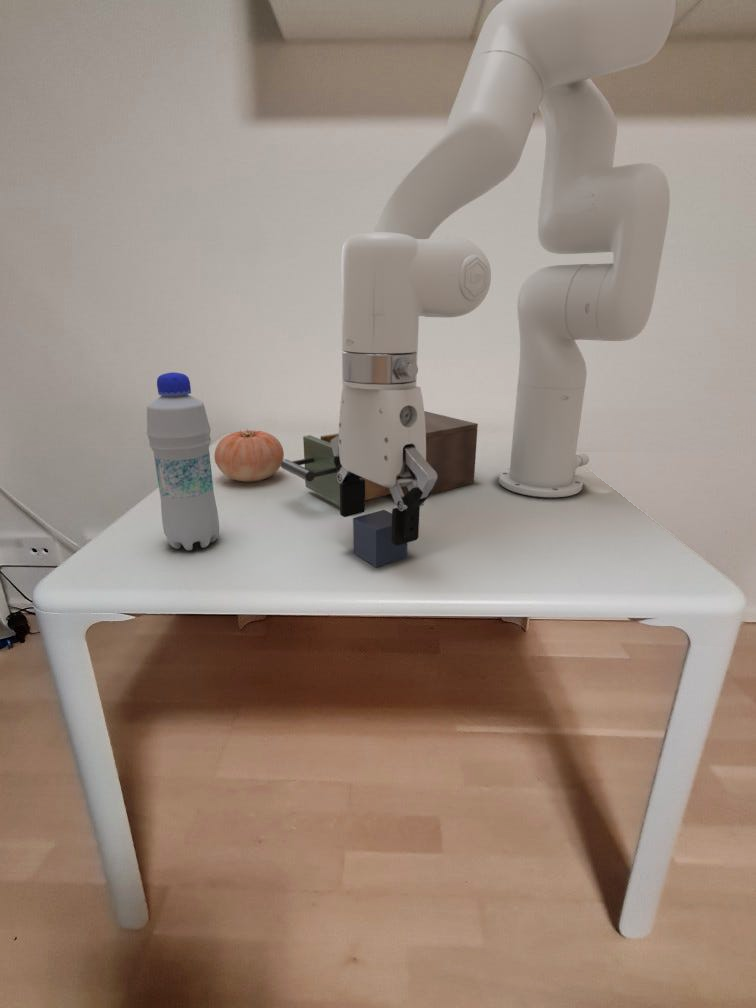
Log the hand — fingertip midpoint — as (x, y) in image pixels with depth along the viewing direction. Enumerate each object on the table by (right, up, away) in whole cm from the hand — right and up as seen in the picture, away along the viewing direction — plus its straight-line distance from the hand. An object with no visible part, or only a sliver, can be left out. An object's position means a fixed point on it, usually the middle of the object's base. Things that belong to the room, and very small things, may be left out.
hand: (377, 527), depth 61 cm
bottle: (-22, -2, +5) cm, 23 cm away
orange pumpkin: (-20, +7, +28) cm, 35 cm away
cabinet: (+6, +6, +26) cm, 28 cm away
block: (0, -3, +2) cm, 4 cm away
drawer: (-4, +4, +19) cm, 20 cm away
